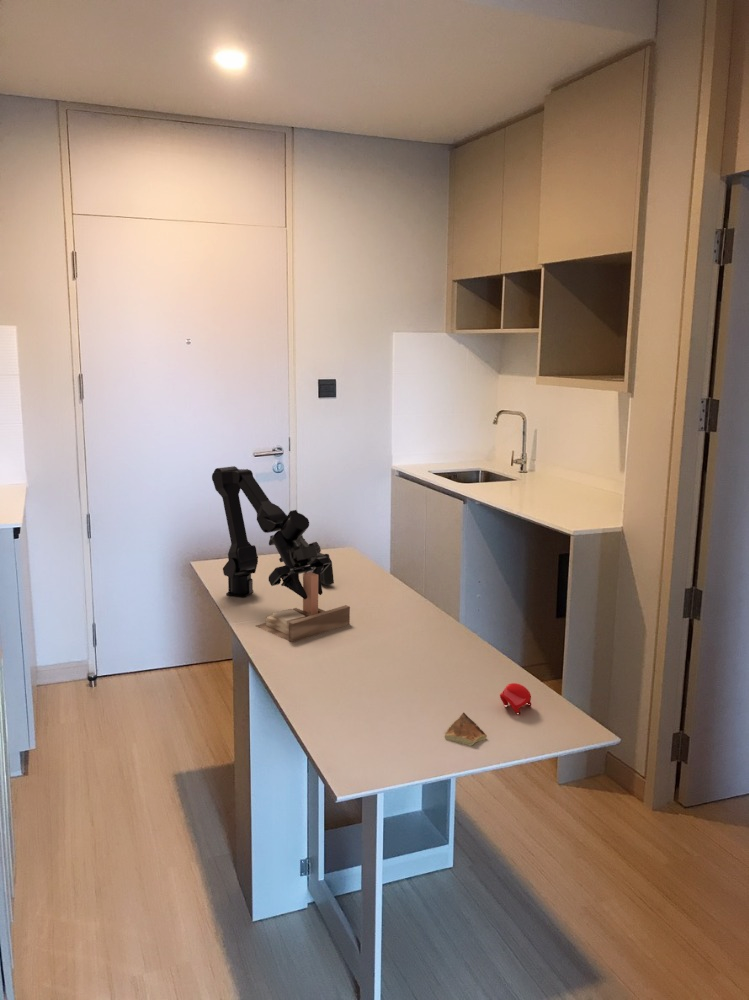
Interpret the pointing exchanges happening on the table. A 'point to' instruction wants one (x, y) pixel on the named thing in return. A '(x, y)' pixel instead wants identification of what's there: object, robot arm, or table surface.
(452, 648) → the table surface
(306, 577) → the block
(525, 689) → the red legged dome
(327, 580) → the magazine
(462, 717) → the shard
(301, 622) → the rack
